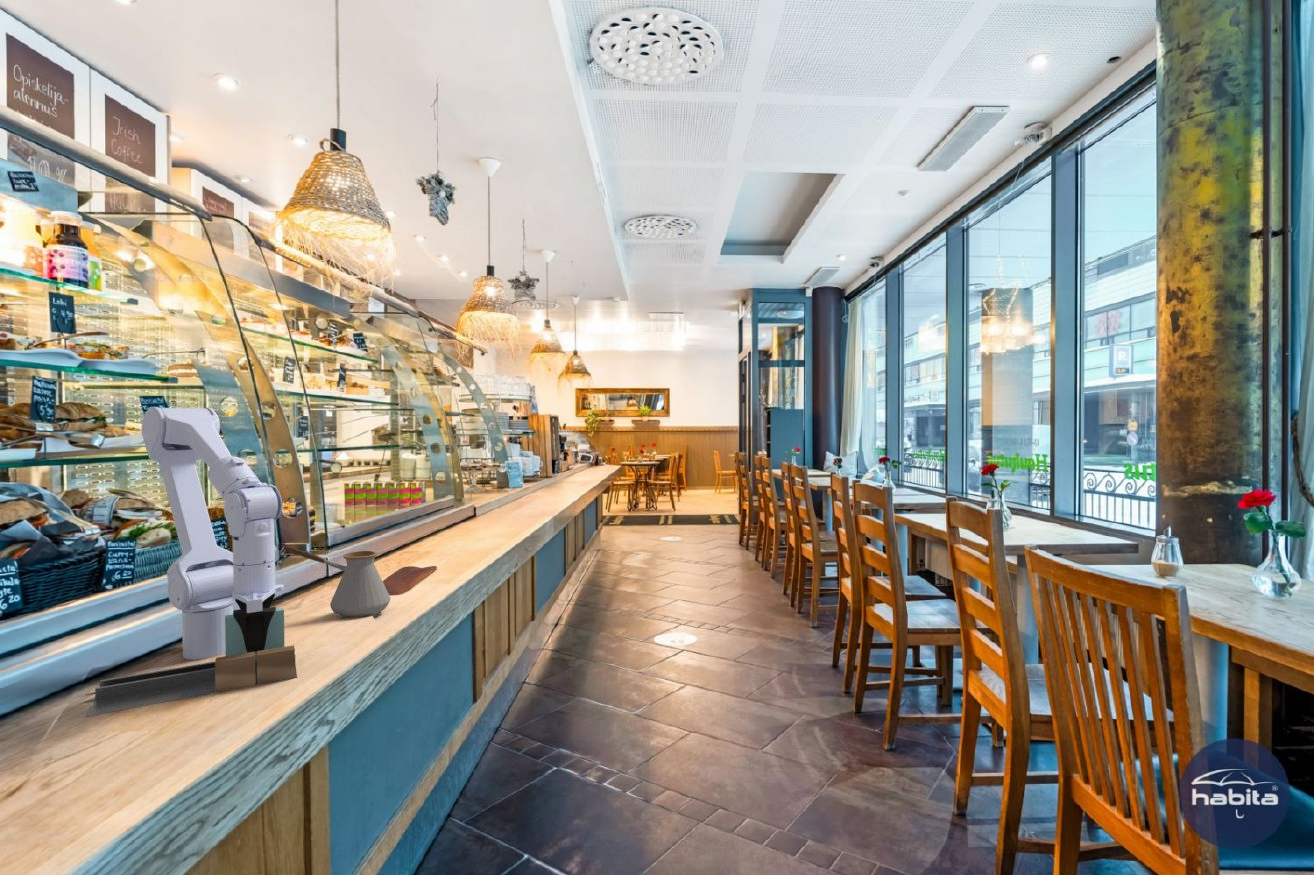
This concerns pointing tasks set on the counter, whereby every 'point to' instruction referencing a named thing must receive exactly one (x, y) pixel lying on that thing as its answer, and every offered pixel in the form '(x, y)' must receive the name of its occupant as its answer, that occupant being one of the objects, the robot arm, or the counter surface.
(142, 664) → the counter surface
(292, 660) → the offcut
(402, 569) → the wooden tablet
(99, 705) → the rack
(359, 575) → the coffee pot
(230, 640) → the teal slab
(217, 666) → the offcut
